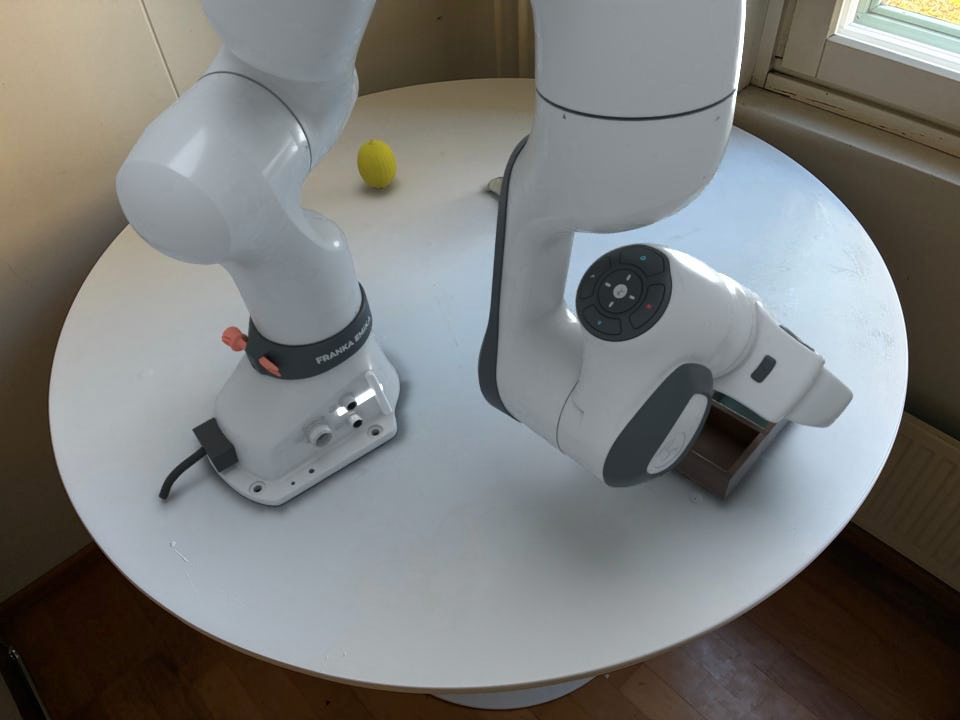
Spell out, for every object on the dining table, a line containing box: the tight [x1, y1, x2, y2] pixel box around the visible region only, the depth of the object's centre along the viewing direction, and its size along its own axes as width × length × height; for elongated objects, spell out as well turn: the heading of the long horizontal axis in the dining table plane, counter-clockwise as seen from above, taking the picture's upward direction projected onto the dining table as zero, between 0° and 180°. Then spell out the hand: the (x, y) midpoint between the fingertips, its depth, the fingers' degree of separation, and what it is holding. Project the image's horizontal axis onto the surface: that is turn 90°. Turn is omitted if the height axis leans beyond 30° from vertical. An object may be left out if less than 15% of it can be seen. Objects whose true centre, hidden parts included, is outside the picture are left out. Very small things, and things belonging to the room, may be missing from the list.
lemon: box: [356, 139, 397, 189], centre depth 111 cm, size 6×6×8 cm
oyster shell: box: [486, 176, 503, 197], centre depth 107 cm, size 6×4×10 cm
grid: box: [673, 389, 790, 501], centre depth 80 cm, size 14×14×4 cm
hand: (768, 354), depth 74 cm, fingers closed on rook chess piece, 3 cm apart
